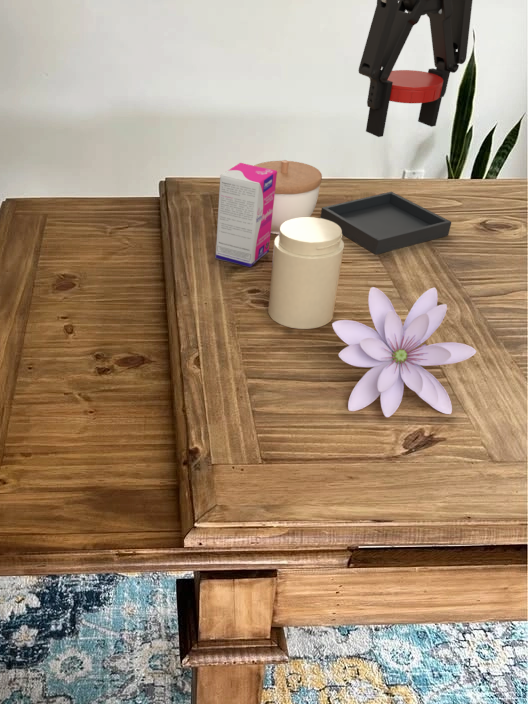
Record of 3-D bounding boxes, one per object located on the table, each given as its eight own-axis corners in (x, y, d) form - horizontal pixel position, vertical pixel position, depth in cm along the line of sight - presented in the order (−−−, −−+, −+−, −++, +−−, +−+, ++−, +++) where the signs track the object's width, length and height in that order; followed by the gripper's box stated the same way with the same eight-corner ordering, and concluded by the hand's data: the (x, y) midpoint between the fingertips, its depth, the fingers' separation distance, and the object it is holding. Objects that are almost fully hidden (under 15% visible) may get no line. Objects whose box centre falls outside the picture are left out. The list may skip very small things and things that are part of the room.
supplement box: (252, 268, 99) (258, 183, 91) (214, 258, 101) (216, 174, 94) (271, 252, 103) (278, 168, 95) (233, 243, 105) (237, 161, 97)
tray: (448, 235, 106) (451, 221, 105) (375, 254, 102) (378, 240, 100) (388, 204, 115) (391, 191, 114) (319, 221, 111) (321, 207, 109)
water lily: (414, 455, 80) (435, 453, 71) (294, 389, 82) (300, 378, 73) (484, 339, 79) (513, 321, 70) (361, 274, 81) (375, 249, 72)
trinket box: (274, 247, 104) (280, 180, 98) (229, 222, 111) (231, 158, 104) (330, 229, 108) (339, 164, 102) (283, 206, 115) (289, 143, 109)
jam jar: (346, 319, 89) (361, 235, 82) (291, 335, 86) (301, 249, 79) (308, 291, 94) (318, 210, 87) (255, 306, 92) (262, 223, 84)
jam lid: (361, 90, 98) (363, 75, 97) (410, 82, 100) (413, 67, 99) (402, 107, 92) (405, 90, 91) (453, 97, 95) (457, 81, 94)
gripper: (485, -89, 90) (441, 110, 105) (346, -79, 83) (320, 132, 98) (533, -84, 85) (479, 124, 100) (389, -73, 78) (355, 149, 93)
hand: (400, 128), depth 99 cm, fingers closed on jam lid, 8 cm apart
